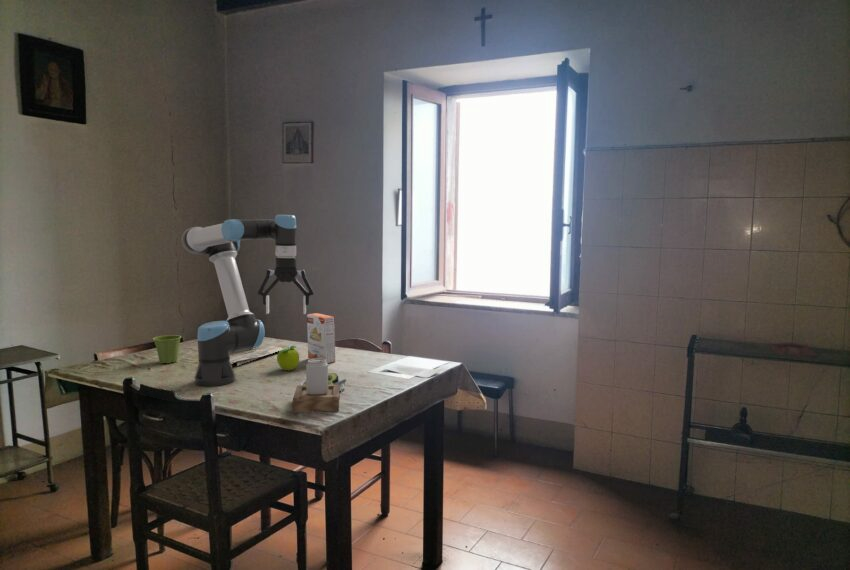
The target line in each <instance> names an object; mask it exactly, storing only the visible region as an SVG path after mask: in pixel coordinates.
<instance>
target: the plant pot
mask: <svg viewBox="0 0 850 570" xmlns="http://www.w3.org/2000/svg"><path fill="white" fill-rule="evenodd" d="M181 339H182V335H176V334H175V335H174V334H171V335H160V336H155V337H152V340H153V341H154V345H155V348H156V353H157V356H158V360H159V363H160V362H161V363H160V364H163V363H166V364H172V363H171V362H175V361H178V356H179V348H180V343H181ZM175 363H176V362H175Z"/></svg>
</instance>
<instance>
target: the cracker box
mask: <svg viewBox="0 0 850 570" xmlns="http://www.w3.org/2000/svg"><path fill="white" fill-rule="evenodd" d="M335 321H336V320H335V317H334V316H332V315H327V314H323V313H318V312H316V313H315V312H314V313H308V314H306V325H307V326H306V327H307V330H306V331H307V358H310V359H314V358H322V359H326V362H327V363H328V364H331V362H332V363H336V335H335V333H336V332H335V331H336V329H335V328H336V326H335ZM310 359H309V360H310Z"/></svg>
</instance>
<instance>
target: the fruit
mask: <svg viewBox="0 0 850 570" xmlns="http://www.w3.org/2000/svg"><path fill="white" fill-rule="evenodd" d="M295 348H297V345H296V346H295V345H291V346H290V347H287V348H283V349H284V350H281V351H279V352H277V356H276V361H277V364H278V366H279V367H280V368H281V369H282V370H283V371H286V370H288V371H293V370H294V369H296V367H298V365H299V363H300V354H299V352H298V350H296V349H295Z"/></svg>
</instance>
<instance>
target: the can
mask: <svg viewBox="0 0 850 570" xmlns="http://www.w3.org/2000/svg"><path fill="white" fill-rule="evenodd" d="M328 373H329V363H327V362H326V359H322V358H314V359H308V360H307V363H306V364H305V378H306V379H305V381H306V390H307V393H308V394H309V395H311V396H320V395H325V394H326V393H327V392H328Z"/></svg>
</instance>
